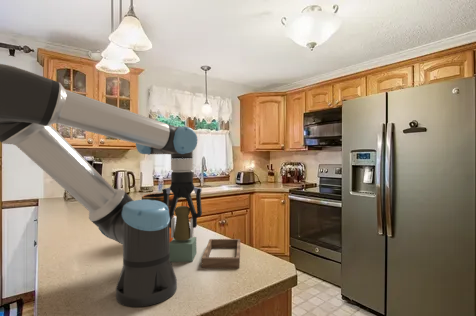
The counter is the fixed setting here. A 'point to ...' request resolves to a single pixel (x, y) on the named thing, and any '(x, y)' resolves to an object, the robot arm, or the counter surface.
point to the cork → (182, 223)
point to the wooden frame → (221, 261)
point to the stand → (183, 250)
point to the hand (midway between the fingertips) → (182, 236)
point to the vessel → (160, 198)
